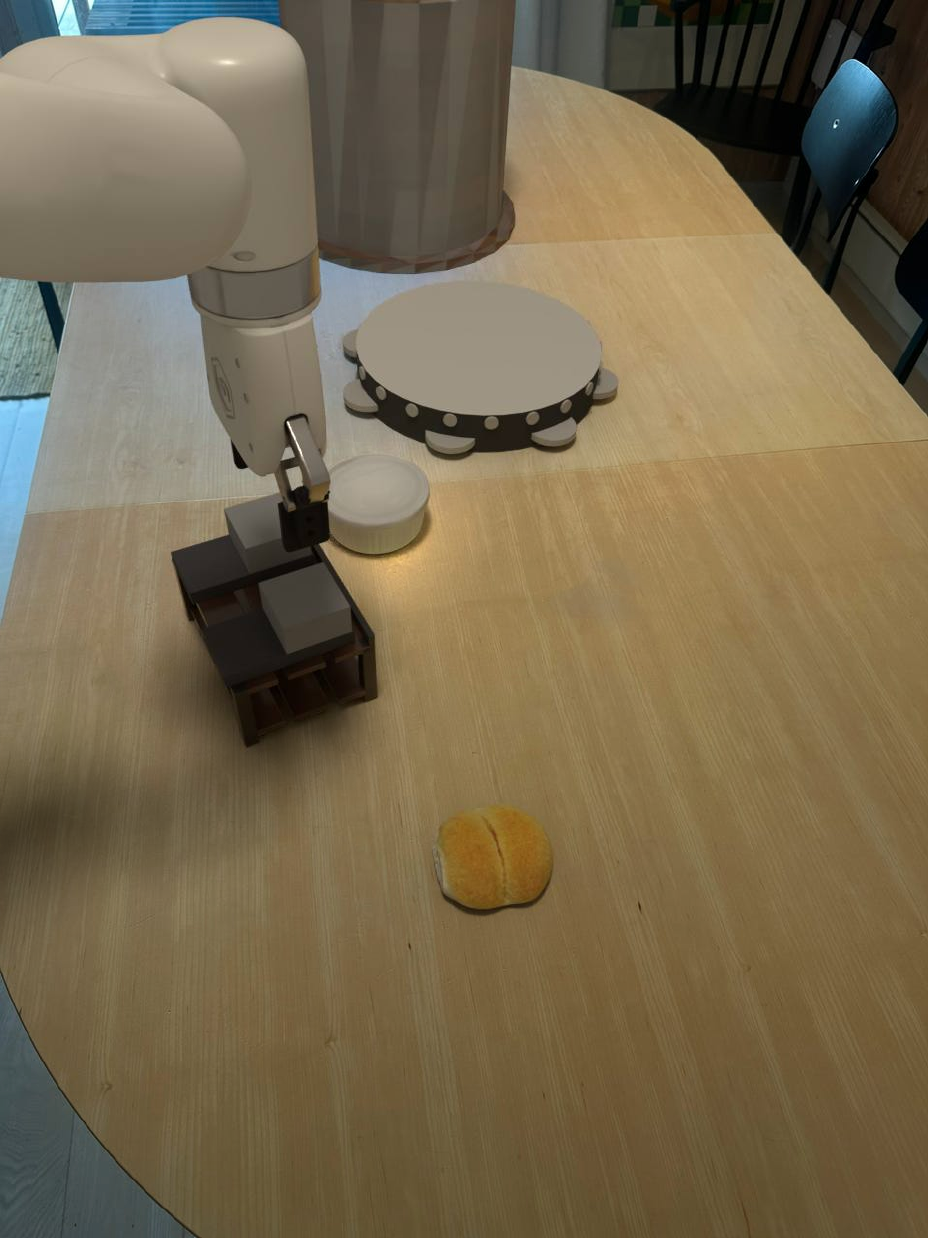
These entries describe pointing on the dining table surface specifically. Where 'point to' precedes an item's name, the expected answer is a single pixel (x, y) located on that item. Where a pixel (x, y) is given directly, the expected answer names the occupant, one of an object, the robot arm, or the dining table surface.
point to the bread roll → (492, 857)
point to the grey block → (240, 553)
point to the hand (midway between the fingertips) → (280, 501)
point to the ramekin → (376, 502)
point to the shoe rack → (297, 679)
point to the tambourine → (477, 367)
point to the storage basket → (407, 128)
